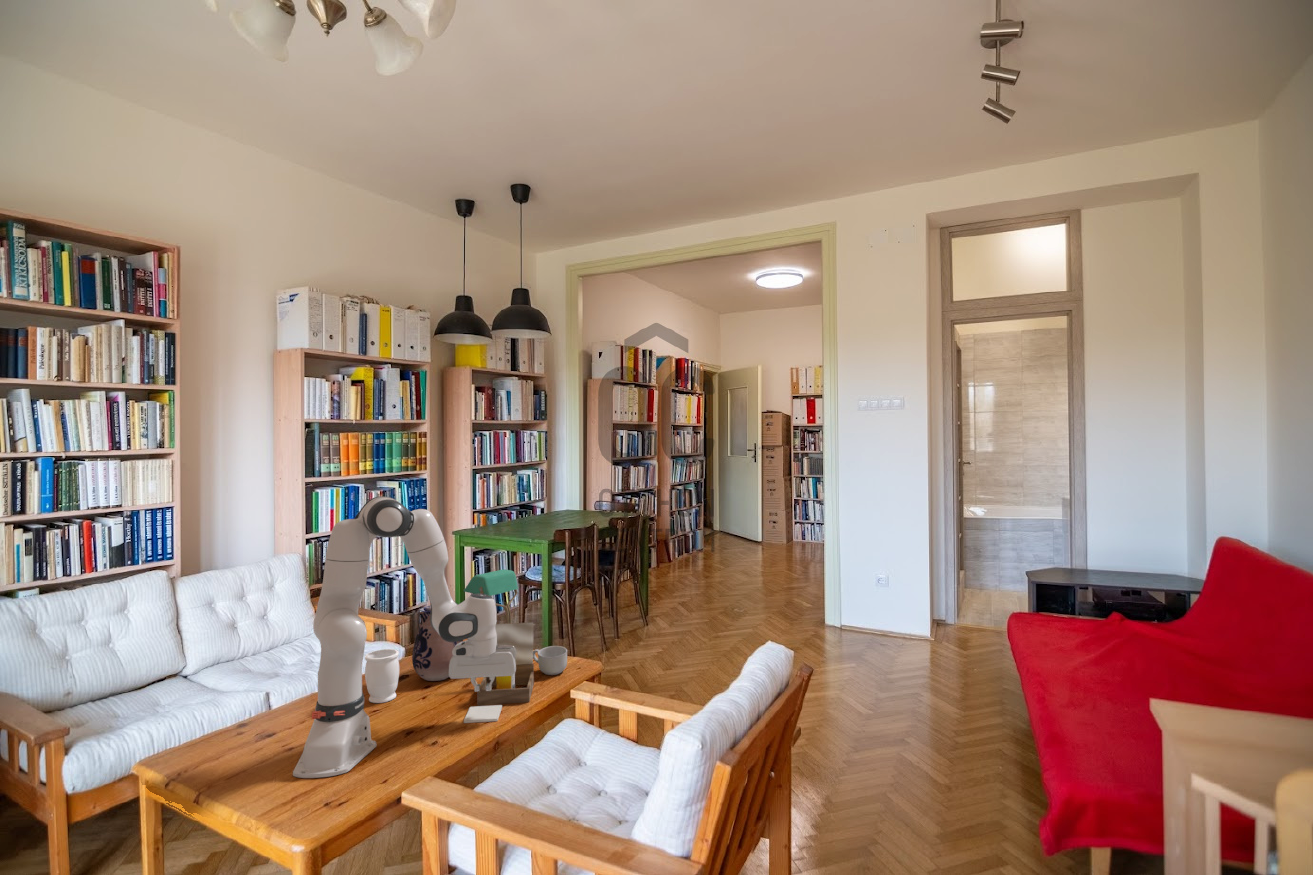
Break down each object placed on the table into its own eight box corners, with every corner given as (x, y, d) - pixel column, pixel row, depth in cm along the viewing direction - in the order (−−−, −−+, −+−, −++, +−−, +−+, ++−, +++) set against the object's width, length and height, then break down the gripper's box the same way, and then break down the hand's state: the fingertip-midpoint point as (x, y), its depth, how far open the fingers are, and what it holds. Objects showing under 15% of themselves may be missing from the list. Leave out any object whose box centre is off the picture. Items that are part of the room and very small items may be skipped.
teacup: (573, 670, 233) (573, 648, 234) (553, 679, 224) (553, 657, 224) (545, 663, 241) (545, 642, 241) (525, 672, 232) (525, 651, 232)
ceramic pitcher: (402, 679, 227) (401, 610, 227) (451, 662, 244) (450, 597, 245) (432, 689, 217) (431, 617, 217) (481, 671, 234) (480, 603, 235)
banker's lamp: (497, 676, 229) (495, 579, 229) (462, 664, 241) (460, 573, 242) (530, 663, 241) (528, 572, 242) (495, 653, 254) (494, 566, 254)
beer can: (499, 690, 215) (499, 646, 215) (517, 691, 214) (517, 647, 214) (493, 698, 209) (493, 652, 209) (511, 698, 208) (511, 653, 208)
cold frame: (529, 702, 205) (528, 639, 205) (477, 705, 204) (476, 642, 204) (535, 678, 226) (534, 621, 226) (487, 681, 224) (487, 624, 224)
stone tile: (497, 721, 192) (497, 718, 192) (463, 723, 191) (463, 720, 191) (502, 707, 201) (502, 704, 201) (470, 709, 200) (470, 706, 200)
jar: (405, 692, 215) (404, 648, 215) (389, 705, 205) (389, 659, 205) (376, 692, 216) (375, 648, 216) (358, 704, 206) (358, 658, 206)
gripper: (517, 641, 200) (518, 684, 200) (451, 644, 198) (452, 688, 198) (515, 647, 194) (515, 692, 194) (446, 651, 192) (447, 696, 192)
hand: (483, 690), depth 196 cm, fingers open, 2 cm apart
